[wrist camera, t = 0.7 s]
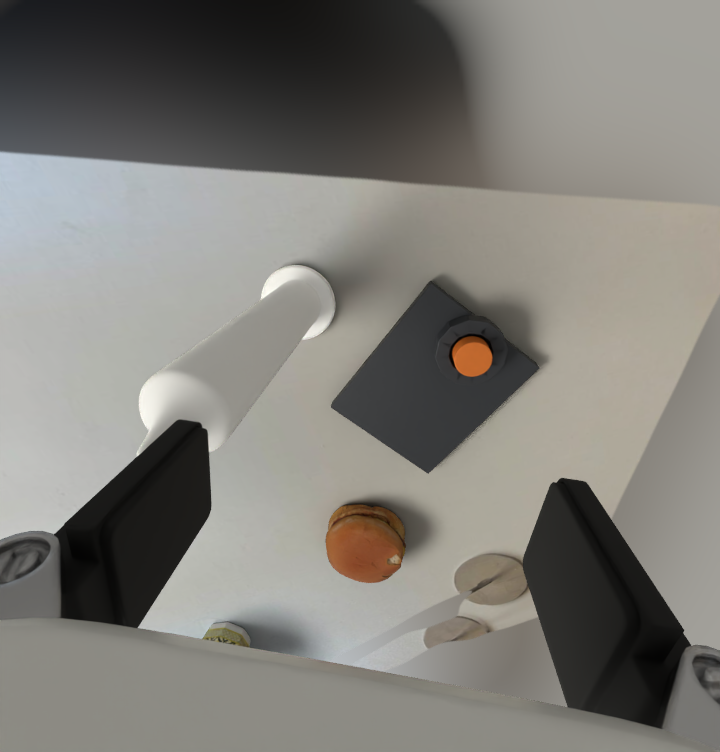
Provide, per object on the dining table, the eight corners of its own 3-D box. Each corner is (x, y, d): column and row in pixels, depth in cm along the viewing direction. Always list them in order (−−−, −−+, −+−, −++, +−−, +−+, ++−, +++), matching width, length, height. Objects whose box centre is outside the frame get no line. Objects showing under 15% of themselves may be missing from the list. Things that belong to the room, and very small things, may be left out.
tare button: (469, 328, 35) (472, 334, 33) (496, 349, 35) (500, 357, 34) (444, 355, 36) (446, 362, 34) (471, 375, 36) (474, 383, 35)
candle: (315, 350, 40) (194, 551, 17) (252, 314, 39) (38, 477, 16) (349, 289, 37) (257, 435, 14) (281, 249, 36) (71, 338, 14)
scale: (434, 275, 36) (436, 281, 33) (540, 358, 38) (551, 371, 35) (332, 402, 42) (327, 416, 39) (427, 467, 44) (429, 484, 42)
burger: (316, 509, 49) (308, 539, 44) (388, 491, 46) (386, 521, 42) (348, 565, 52) (343, 598, 48) (416, 551, 50) (417, 584, 45)
